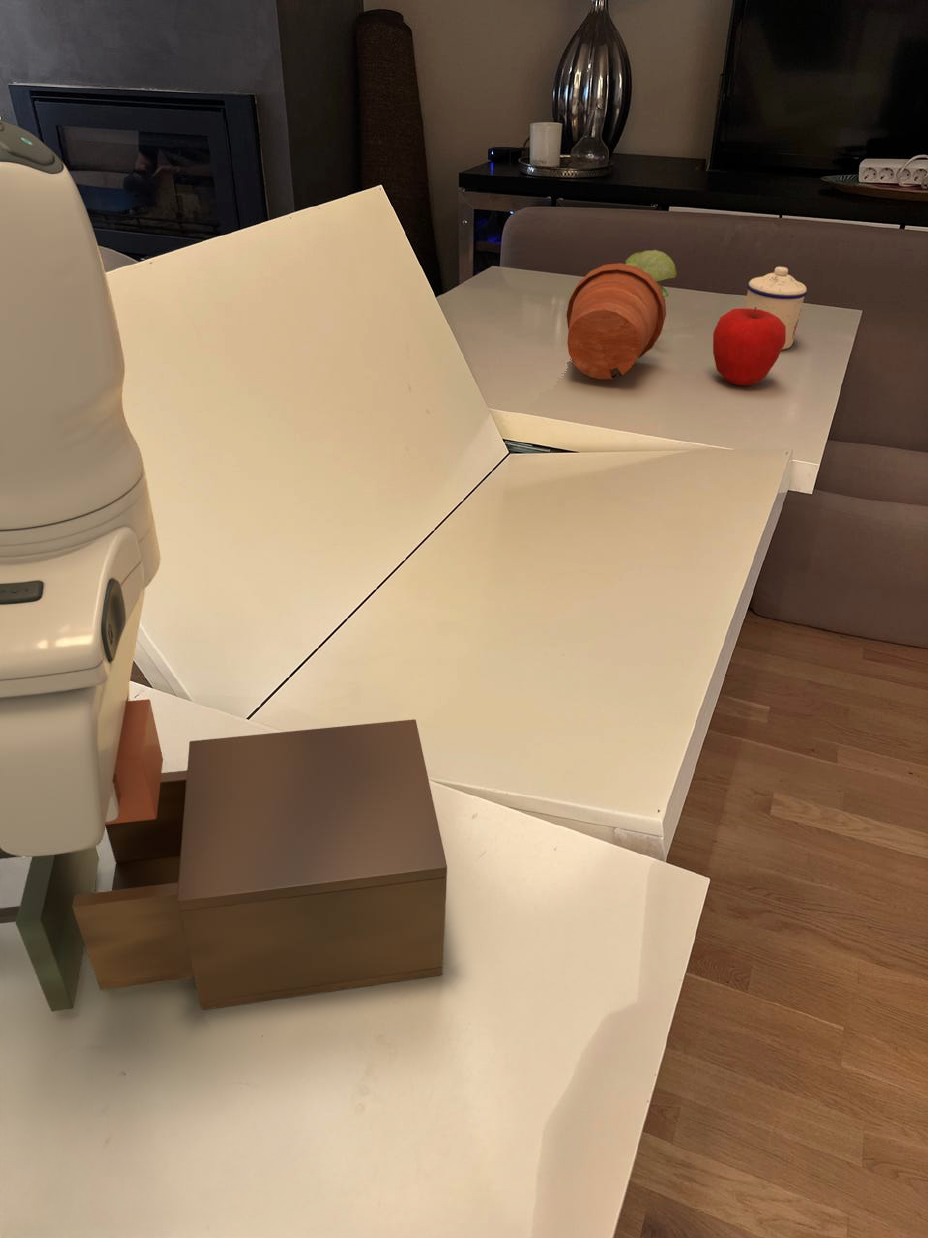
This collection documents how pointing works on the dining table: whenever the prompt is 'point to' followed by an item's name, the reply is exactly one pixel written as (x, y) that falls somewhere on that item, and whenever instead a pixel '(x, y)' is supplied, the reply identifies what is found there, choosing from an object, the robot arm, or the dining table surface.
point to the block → (138, 764)
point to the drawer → (109, 907)
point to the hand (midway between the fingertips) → (109, 770)
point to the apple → (747, 345)
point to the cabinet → (310, 863)
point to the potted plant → (618, 314)
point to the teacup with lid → (778, 299)
